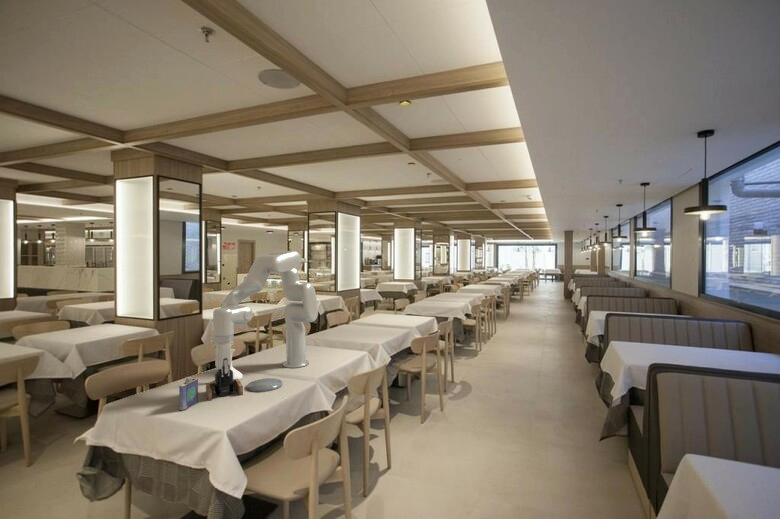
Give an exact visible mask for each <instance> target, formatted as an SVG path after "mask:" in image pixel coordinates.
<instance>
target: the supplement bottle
mask: <svg viewBox="0 0 780 519" xmlns="http://www.w3.org/2000/svg"><path fill="white" fill-rule="evenodd" d="M229 366H230V365H229ZM222 368H224V367H222ZM216 370H217V371H216V372H215V373H214V382H215V392H214V395H215V396H216V397H220V398H221V397H228V396H231V395H233V393H234V389H233V371H232V370H231V369H229V375H230V386H226V387H221V377H222V374H221V369H220V370H218V369H217V368H216ZM223 371H224V370H223Z"/></svg>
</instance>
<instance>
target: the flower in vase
mask: <svg viewBox="0 0 780 519" xmlns="http://www.w3.org/2000/svg"><path fill="white" fill-rule="evenodd" d="M209 338H210V340H212V341H213V330H212V331H211V333H210V337H209ZM234 343H235V341H234V342H233V343H231V347H232V346H234ZM213 350H216V345H215V346H214V347H213ZM235 351H236V349H234V348H231V368H230V369H231V370H232V371H233V379H239V381H241V380H242V379H243V377H244V374H242V373H241V372H240V371H239V370H237V369H236V368H235V367H233V364H232V362H233V360H232V359H233V354H234V352H235Z"/></svg>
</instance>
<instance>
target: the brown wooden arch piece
mask: <svg viewBox="0 0 780 519" xmlns="http://www.w3.org/2000/svg"><path fill="white" fill-rule="evenodd" d="M233 388H234V389H237V390H236V391H237V394H238V395H239V396H243V395H244V390H243V389H244V386H243V384H242V382H241V380H239V379H233ZM212 393H215V381H214V382H208V383H205V394H206V398H207V400H208V402H210V401H213V394H212Z"/></svg>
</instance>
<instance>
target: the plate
mask: <svg viewBox="0 0 780 519" xmlns="http://www.w3.org/2000/svg"><path fill="white" fill-rule="evenodd" d="M282 386H283V381H282V380H281V379H279V378H275V377H274V378H260V379H256V380H253V381H250V382H248V384H246V387H247V388H246V389H247V390H248V391H249V390H250V391H249V392H252V391H253V392H255V393H265V392H272V391H274V390H278V389H279V388H281V387H282Z"/></svg>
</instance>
